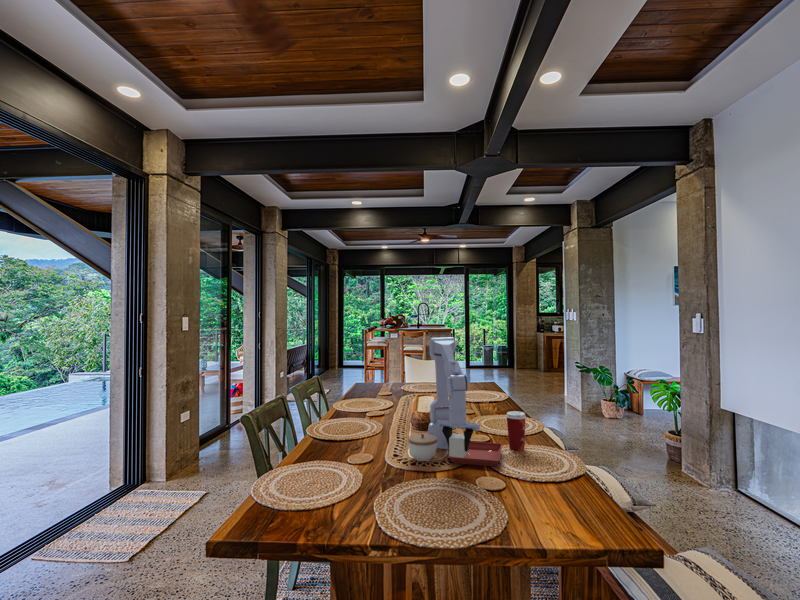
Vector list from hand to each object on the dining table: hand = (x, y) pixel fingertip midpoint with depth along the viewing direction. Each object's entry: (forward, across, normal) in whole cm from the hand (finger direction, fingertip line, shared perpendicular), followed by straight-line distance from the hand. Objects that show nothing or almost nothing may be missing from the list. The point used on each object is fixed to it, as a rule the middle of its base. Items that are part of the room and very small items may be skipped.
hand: (458, 449), depth 137 cm
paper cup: (+7, +16, +27) cm, 33 cm away
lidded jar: (+7, -15, +5) cm, 17 cm away
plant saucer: (+8, +3, +13) cm, 16 cm away
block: (+2, 0, 0) cm, 2 cm away
